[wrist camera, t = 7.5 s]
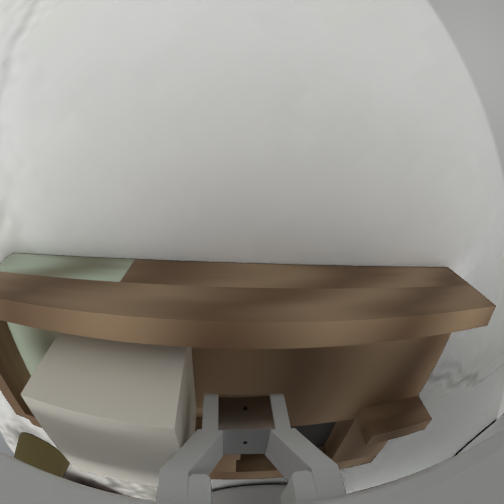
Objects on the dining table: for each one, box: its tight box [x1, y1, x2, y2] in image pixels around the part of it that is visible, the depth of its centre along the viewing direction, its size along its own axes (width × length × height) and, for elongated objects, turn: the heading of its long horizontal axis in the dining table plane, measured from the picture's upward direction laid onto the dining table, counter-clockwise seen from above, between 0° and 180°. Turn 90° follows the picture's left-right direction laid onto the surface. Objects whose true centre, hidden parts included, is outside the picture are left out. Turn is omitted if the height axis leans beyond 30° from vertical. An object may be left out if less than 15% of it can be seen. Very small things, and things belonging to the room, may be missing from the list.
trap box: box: [0, 253, 496, 479], centre depth 13 cm, size 23×16×4 cm
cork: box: [14, 433, 70, 478], centre depth 13 cm, size 6×6×11 cm
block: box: [21, 333, 197, 487], centre depth 9 cm, size 5×5×4 cm
